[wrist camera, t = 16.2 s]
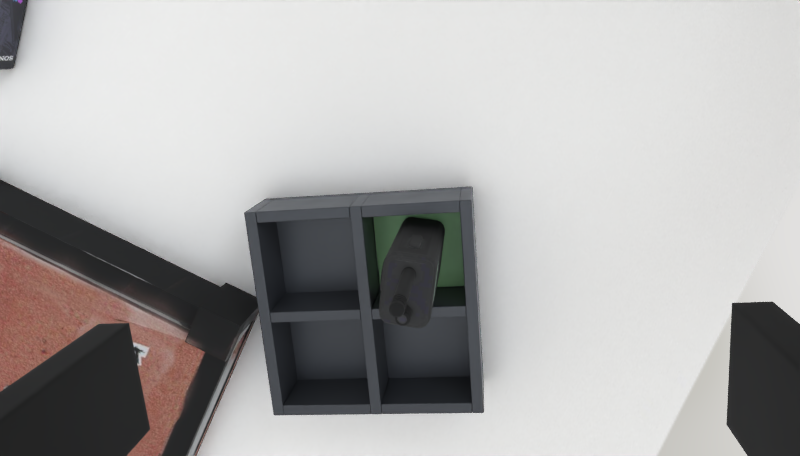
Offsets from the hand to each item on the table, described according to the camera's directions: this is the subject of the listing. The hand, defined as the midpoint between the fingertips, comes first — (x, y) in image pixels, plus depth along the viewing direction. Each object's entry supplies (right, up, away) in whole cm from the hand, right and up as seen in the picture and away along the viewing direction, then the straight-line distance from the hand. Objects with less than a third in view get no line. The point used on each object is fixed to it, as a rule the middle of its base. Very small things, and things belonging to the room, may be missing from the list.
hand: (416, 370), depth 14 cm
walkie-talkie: (+1, +2, +33) cm, 33 cm away
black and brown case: (-26, -4, +39) cm, 47 cm away
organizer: (-2, -2, +35) cm, 35 cm away
